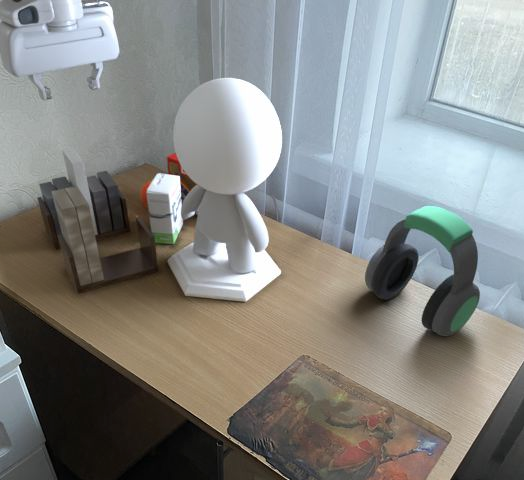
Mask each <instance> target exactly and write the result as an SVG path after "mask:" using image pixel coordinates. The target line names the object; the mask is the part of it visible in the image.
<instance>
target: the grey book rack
mask: <svg viewBox="0 0 524 480" xmlns="http://www.w3.org/2000/svg"><path fill="white" fill-rule="evenodd" d="M86 177H87V182H88V187H89V192H90V197H91V202H92V207H93V212H94V217H95V222H96V227H97V232H98V235H95V238H96V241H99V240H104V239H108V238H111V237H112V238H113V237H116V236H120V235H124V234H128V233H131V225H130V219H129V217H130V216H129V212H128V203H127V198H126V197H125V195H124V194H123V193H122V192H121V190H120V189H119V185H118V183H117V182H116V181H115V179H114V178H113V177H112V176H111V174H110V173H109V172H108V171H107V170H104V171H99V172H96V175H90V176H86ZM38 185H39V189H40V190H39V191H40V194H41V196H37V198H36V199H37V204H38V206H39V211H40V213H41V217H42V221H43V225H44V229H45V231H46V233H47V236H48V238H49V240H50V241H51V243H52V246H53V247H54V250H55V251H59V250H61V248H60V244H59V240H58V237H57V236H58V235H62V231H61V228H60V224H59V220H58V216H57V212H56V208H55V204H54V200H53V196H52V192H51V191H55V190H60V189H64V190H65V188H70V187H72V186H71V184H70V182H69V179H68V177H67V176H60V177H56V178H51V181H47V182H46V181H45V182H41V183H38ZM62 236H63V235H62Z"/></svg>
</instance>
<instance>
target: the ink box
mask: <svg viewBox="0 0 524 480" xmlns="http://www.w3.org/2000/svg"><path fill="white" fill-rule="evenodd" d="M153 178H154V179H153V181H152V182H151V184H150V186H149V187H148V189H147V192H146V194H147V202H148V208H147V209H148V210H147V211H148V217H149V224H150V231H151V232H152V234H153V235H154V238H155V244H167V245H175V243H176V240H177V239H178V236H179V234H180V232H181V229H182V228H183V225H184V220H183V219H182V217H181V207H182V201H181V186H180V176H176V175H169V174H168V173H161V172H158V173H156V175H155V176H154V177H153Z"/></svg>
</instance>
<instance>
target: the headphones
mask: <svg viewBox="0 0 524 480" xmlns="http://www.w3.org/2000/svg"><path fill="white" fill-rule="evenodd" d="M411 229H412V230H418V231H420V232H423V233H425V234H427V235H429V236H430V237H432V238H434V239H435V240H436V241H438V242H439V243H440V244H441V245H442V246H443V247H444V249H446V251H447V252H448V253H449V254H450V257H451V259H452V264H453V265H452V266H453V274H451V275H449V276H448V277H446V278H445V279H444V280H443V281H442V282H441V283H439V285H438V286H437V287H436V288H435V290H434V291H433V292H432V294H431V295H430V297H429V298H428V300H427V302H426V305H425V307H424V308H423V311H422V315H421V324H422V326H423V327H424V328H425V329H426V330H428V331H430V332H433V333H435V334H437V335H440V336H441V337H450V336H453V335H454V334H456V333H457V332H458V331H460V330H461V329H462V328H463V327H464V326H465V325H466V324H467V322H469V320H470V319H471V317H472V316H473V314H474V313H475V311H476V309H477V307H478V304H479V302H480V296H481V292H480V288H479V286H478V285H477V284H475V283H474V280H475V277H476V275H477V268H478V263H479V252H478V246H477V242H476V239H475V237H474V235H473V232H474V230H473V228H472V227H471V226H470V225H469V223H467V222H466V221H465V219H463V218H462V217H461V216H459V215H457V214H456V213H453V212H452V211H450V210H448V209H445V208H442V207H439V206H434V205H425V206H422V207H421V208H418V209H416V210H414V211H411V212H409V213H408V214H407V215H406V217H405V219H402V220H400V221H398V222H397V223H396V224H395V225H394V226H393V227H392V228H391V229H390V231H389V232H388V234H387V236H386V239H385V241H384V244H382V246H380V247H379V248H378V249H377V250H376V251H375V252H374V254H373V255H372V257H371V258H370V259H369V262H368V264H367V266H366V269H365V272H364V281H365V285H366V287H367V288H368V289H369V290H370V291H372V292H373V293H374V295H375V296H377V298H379V299H381V300H386V301H387V300H390V299H393V298H394V297H396V296H397V295H398V294H400V293H401V292H402V291H403V290H404V289H405V288H406V286H407V285H408V284H409V282H410V281H411V280H412V277H413V276H414V274H415V272H416V270H417V267H418V264H419V257H420V255H419V252H418V250H417V248H416V247H414V246H412V245H411V244H409V243H406V240H407V237H408V236H409V233H410V231H411Z"/></svg>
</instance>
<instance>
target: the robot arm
mask: <svg viewBox="0 0 524 480" xmlns="http://www.w3.org/2000/svg"><path fill="white" fill-rule="evenodd" d="M114 21H115V20H114V12H113V8H112V6H111V4H110V3H109V2H108V1H106V0H0V60H1V63H2V66H3V68H4V69H5V70H6V71H7V72H8V73H9V74H10V75H12V76H14V77H16V78H21V77H27V76H28V79H29V80H30V81H31V82H32V84H33V85H34V86H35V87H36V88H37V91H38V94H39V98H40V99H41V100H42V101H48V100H52V99H53V96H52V91H51V88H50V87H48V86H47V85H43V84H42V83H41V81H42V79H43V78H42V74H43V73H48V72H54V71H59V70H63V69H68V68H69V69H70V68H75V67H79V66H80V67H81V66H86V65H90V66H91V67H92V70H91V74H90V76H88V77H86V80H87V87H88V88H89V89H90V90H92V91H95V90H100V88H101V84H100V78H101V75H102V73H103V69H104V65H103V64H104V63H103V62H107V61H111V60H116V59H118V56H119V55H120V45H119V39H118V36H117V32H116V31H117V30H116V28H115V24H114Z"/></svg>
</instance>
